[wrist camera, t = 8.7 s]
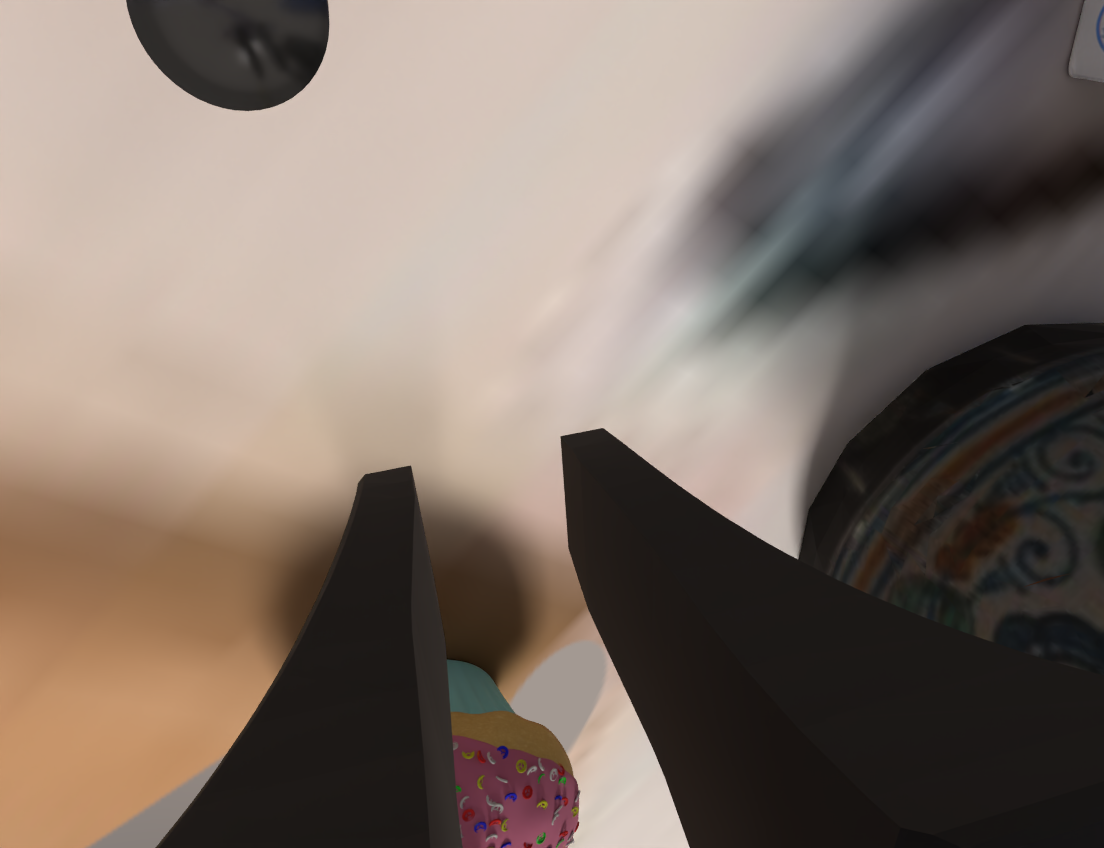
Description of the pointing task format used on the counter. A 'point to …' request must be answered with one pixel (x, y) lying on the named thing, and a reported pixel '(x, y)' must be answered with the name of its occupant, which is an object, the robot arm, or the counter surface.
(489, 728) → the cupcake
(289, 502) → the counter surface
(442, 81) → the counter surface
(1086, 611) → the beer stein
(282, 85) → the lock pin
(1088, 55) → the string lights box
